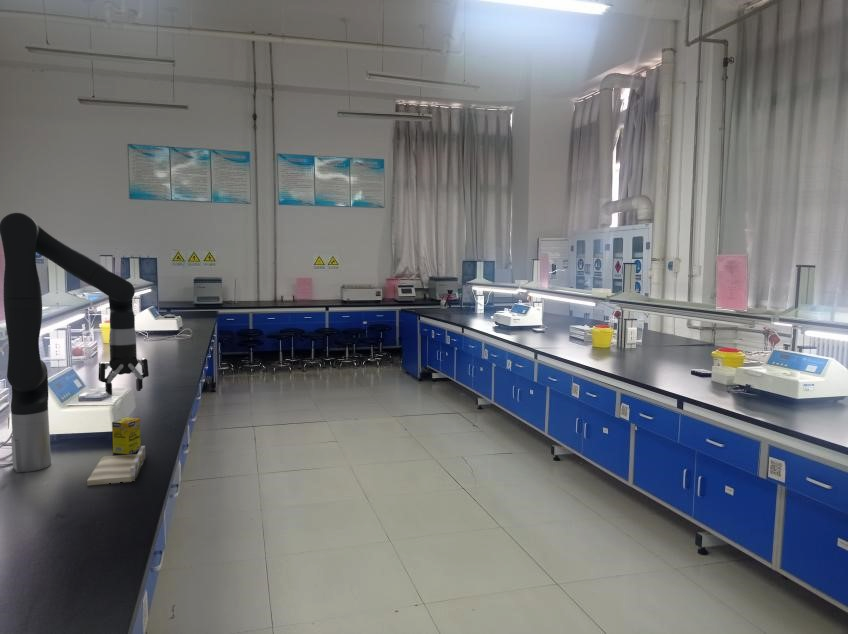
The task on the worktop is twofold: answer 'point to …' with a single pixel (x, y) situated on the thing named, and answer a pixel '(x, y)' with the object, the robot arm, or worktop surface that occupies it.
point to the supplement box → (126, 436)
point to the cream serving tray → (117, 468)
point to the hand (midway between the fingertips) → (124, 392)
